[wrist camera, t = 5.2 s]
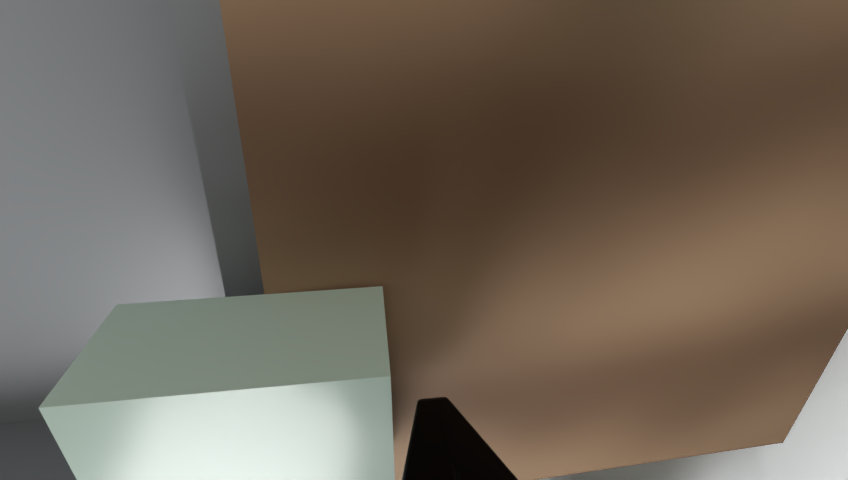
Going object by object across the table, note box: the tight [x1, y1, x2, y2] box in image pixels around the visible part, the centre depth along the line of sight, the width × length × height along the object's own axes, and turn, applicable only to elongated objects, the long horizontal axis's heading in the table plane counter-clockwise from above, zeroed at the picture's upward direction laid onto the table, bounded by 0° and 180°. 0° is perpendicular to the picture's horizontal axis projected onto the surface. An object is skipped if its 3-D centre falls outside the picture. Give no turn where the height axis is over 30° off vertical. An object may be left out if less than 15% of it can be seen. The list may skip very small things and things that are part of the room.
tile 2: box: [39, 286, 395, 480], centre depth 9 cm, size 5×5×2 cm
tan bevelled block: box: [219, 0, 848, 480], centre depth 11 cm, size 20×15×4 cm
